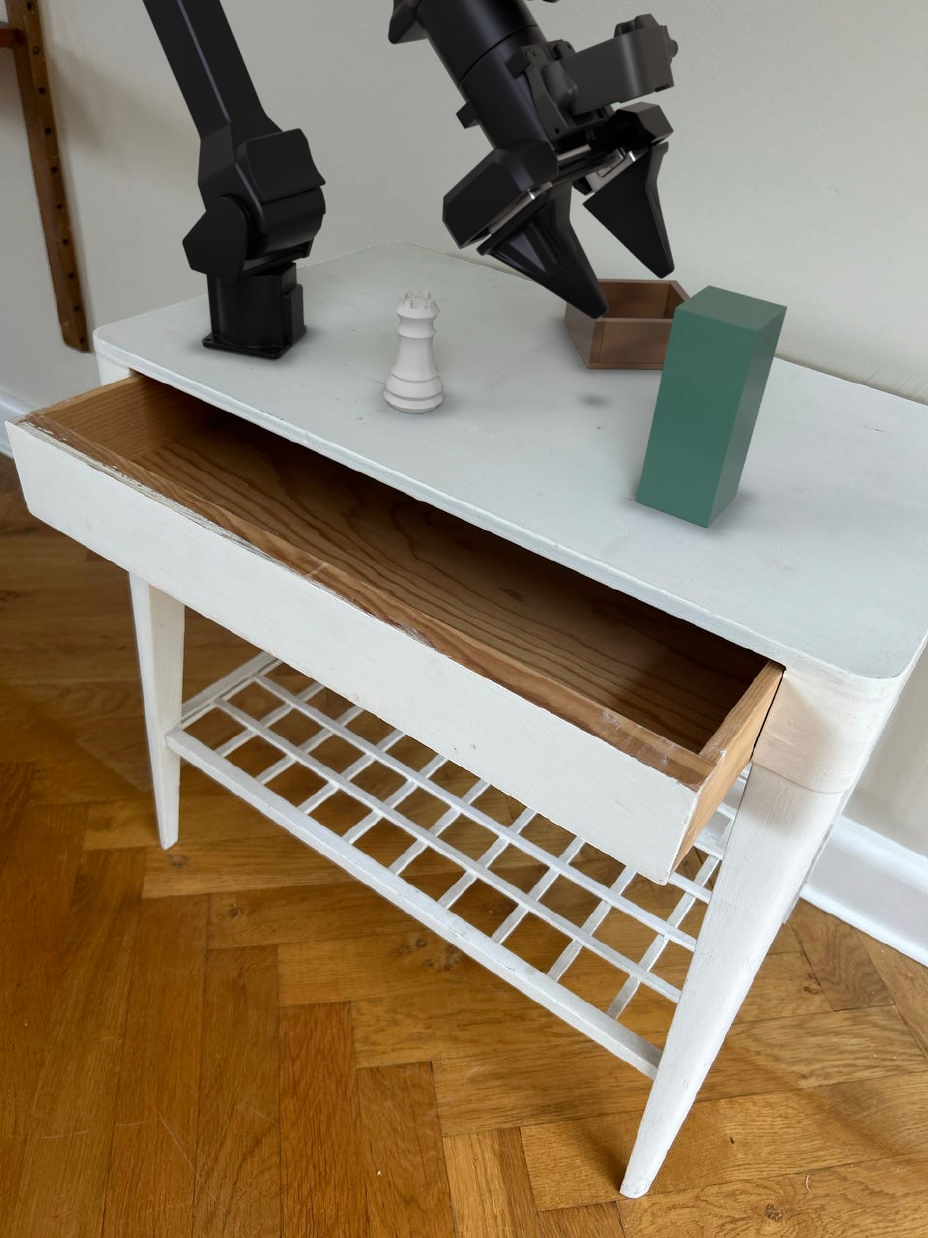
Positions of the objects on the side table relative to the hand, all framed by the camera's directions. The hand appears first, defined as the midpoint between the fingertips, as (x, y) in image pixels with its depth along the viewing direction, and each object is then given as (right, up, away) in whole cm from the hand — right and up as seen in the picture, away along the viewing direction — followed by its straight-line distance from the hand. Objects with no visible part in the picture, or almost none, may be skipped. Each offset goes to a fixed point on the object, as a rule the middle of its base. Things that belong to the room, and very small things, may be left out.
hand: (636, 293), depth 61 cm
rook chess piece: (-14, -4, +14) cm, 20 cm away
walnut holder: (+4, +4, +25) cm, 25 cm away
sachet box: (+4, -12, +5) cm, 14 cm away
